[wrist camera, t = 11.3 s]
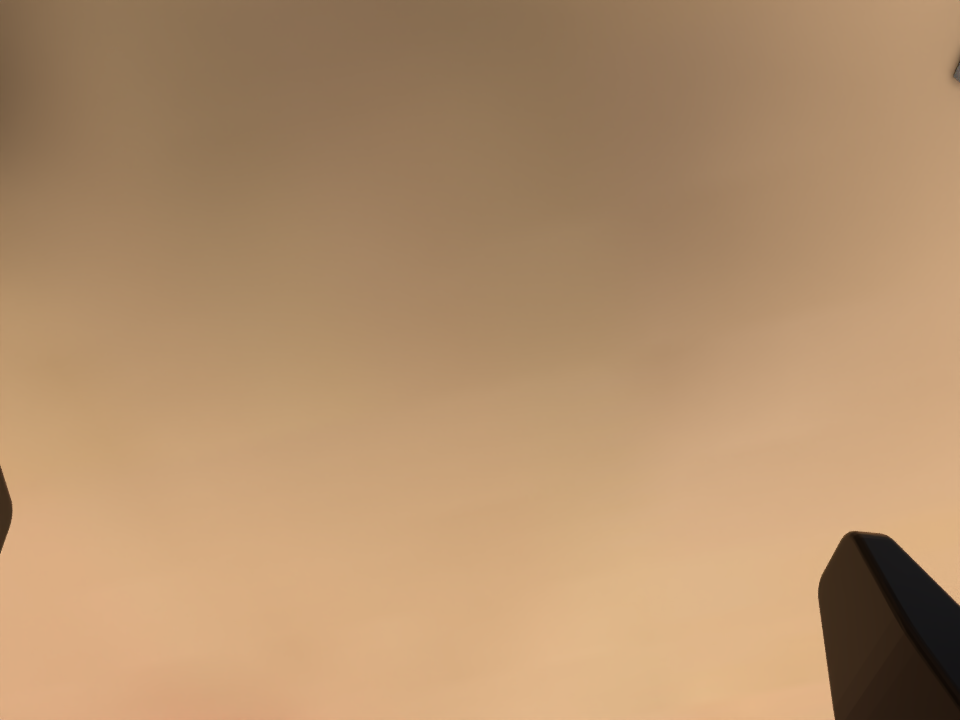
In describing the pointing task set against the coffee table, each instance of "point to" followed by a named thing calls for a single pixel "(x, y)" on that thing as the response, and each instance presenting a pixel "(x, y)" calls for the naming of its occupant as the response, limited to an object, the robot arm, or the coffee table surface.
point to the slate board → (957, 73)
